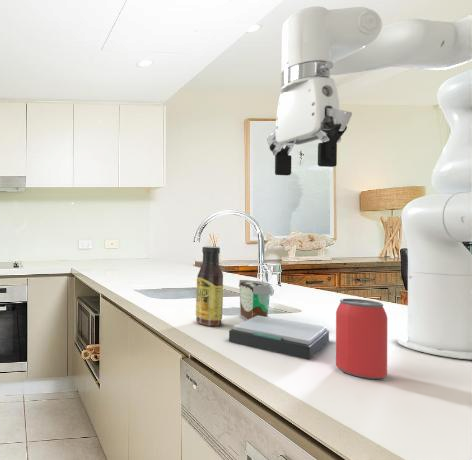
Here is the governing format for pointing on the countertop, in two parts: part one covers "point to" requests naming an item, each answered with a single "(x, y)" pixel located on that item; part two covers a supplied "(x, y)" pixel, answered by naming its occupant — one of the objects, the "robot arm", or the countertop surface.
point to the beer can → (361, 338)
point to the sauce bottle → (209, 289)
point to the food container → (254, 298)
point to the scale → (280, 336)
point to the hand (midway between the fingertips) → (303, 170)
